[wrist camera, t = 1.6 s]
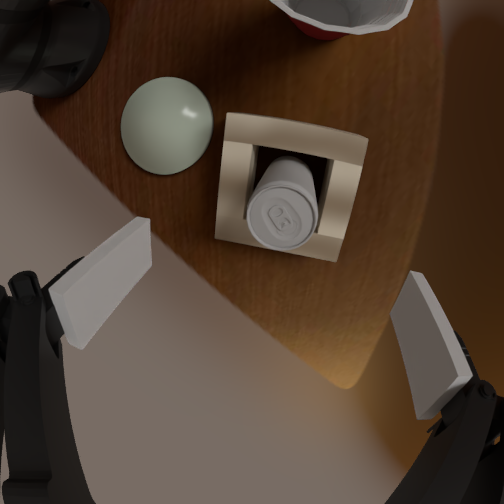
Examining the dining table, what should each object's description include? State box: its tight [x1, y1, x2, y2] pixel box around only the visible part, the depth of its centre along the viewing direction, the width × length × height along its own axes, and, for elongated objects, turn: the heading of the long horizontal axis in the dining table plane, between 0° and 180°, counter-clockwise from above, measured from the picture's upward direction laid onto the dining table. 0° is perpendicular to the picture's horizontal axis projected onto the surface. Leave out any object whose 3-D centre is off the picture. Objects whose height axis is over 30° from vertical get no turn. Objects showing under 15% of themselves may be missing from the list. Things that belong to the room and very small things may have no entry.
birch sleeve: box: [215, 112, 368, 262], centre depth 26 cm, size 12×12×5 cm
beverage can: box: [246, 156, 318, 251], centre depth 23 cm, size 5×5×12 cm
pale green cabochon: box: [121, 77, 214, 175], centre depth 27 cm, size 11×11×1 cm
